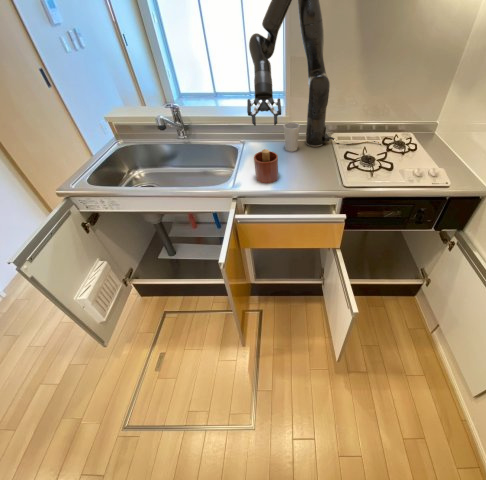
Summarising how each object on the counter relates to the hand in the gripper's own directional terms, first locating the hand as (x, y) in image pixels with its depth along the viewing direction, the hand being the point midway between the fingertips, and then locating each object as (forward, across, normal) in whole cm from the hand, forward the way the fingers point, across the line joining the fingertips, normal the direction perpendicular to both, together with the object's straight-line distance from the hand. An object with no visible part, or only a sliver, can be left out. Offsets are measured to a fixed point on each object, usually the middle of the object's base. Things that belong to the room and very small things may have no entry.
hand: (265, 124), depth 112 cm
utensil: (+20, 0, +7) cm, 21 cm away
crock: (+20, 0, +8) cm, 22 cm away
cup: (+2, +12, +27) cm, 29 cm away
